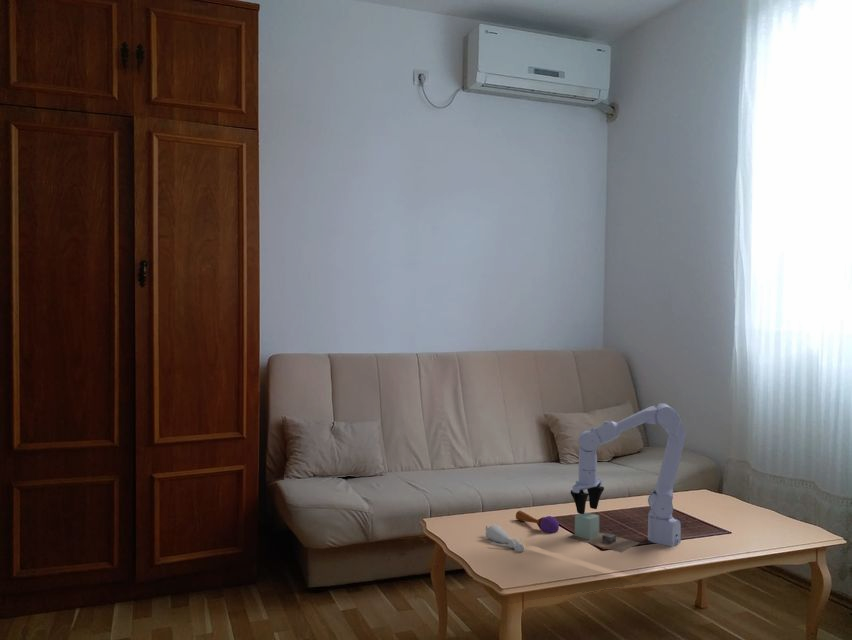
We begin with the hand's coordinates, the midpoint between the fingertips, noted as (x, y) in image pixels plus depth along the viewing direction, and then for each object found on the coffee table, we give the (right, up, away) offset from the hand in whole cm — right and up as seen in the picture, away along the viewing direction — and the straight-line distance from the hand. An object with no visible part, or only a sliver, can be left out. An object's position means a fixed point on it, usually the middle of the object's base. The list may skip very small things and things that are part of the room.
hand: (587, 510), depth 226 cm
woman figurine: (-27, -10, -5) cm, 29 cm away
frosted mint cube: (0, -8, 0) cm, 8 cm away
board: (+4, -9, -4) cm, 11 cm away
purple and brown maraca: (-14, -9, +11) cm, 21 cm away
